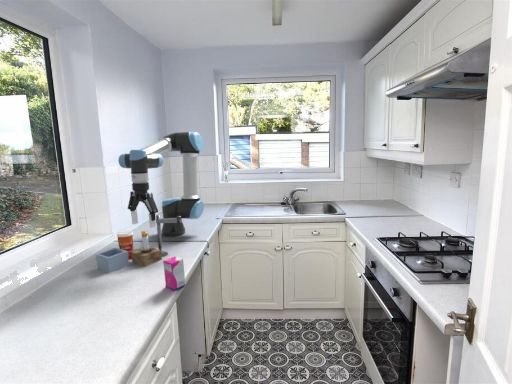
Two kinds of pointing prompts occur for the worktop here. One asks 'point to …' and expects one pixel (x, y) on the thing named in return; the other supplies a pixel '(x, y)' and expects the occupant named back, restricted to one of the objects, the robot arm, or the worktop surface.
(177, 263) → the supplement box
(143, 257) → the socket block
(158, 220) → the grey tall angled piece
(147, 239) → the pin
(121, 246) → the paper cup
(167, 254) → the base
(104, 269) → the blue open box
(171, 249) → the worktop surface
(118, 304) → the worktop surface
